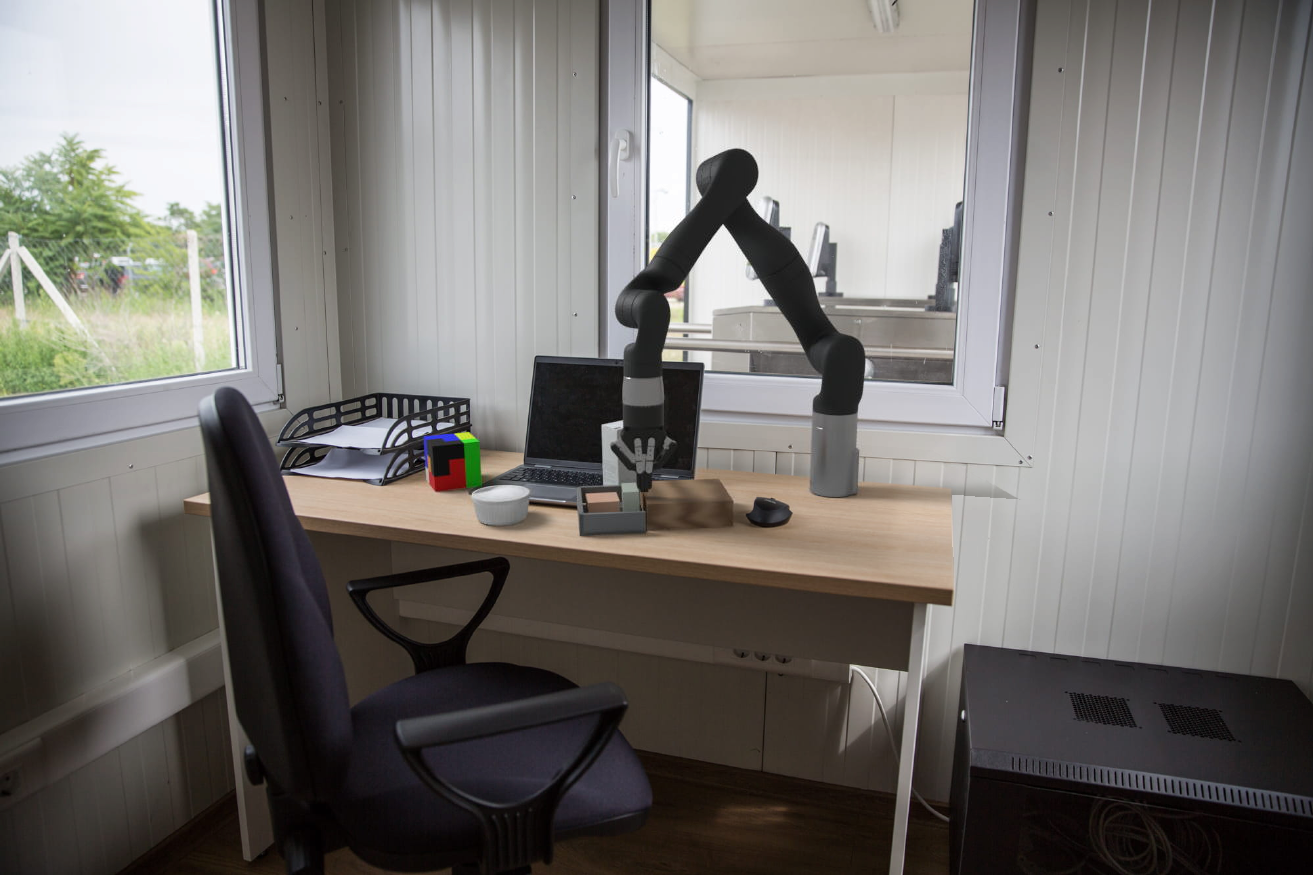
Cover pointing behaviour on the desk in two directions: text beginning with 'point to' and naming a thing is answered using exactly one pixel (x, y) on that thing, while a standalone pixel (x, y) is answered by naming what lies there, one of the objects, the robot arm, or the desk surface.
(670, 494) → the wooden riser block
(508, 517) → the ramekin
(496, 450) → the desk surface
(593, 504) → the terracotta tile
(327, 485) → the desk surface
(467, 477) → the puzzle toy
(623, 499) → the sage tile
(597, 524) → the box
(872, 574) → the desk surface
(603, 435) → the skincare box
